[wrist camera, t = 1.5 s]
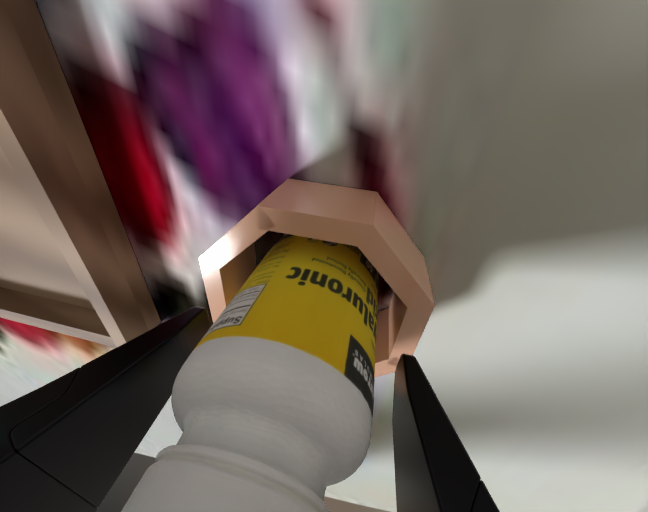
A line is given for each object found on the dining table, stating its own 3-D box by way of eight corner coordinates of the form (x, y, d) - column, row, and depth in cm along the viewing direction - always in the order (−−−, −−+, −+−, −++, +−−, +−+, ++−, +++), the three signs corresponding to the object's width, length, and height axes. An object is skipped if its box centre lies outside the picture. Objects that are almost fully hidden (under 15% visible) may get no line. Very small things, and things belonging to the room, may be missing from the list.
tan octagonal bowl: (392, 347, 14) (392, 400, 12) (247, 314, 15) (220, 357, 13) (445, 201, 10) (464, 239, 7) (230, 169, 11) (182, 192, 8)
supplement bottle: (403, 282, 12) (435, 684, 4) (321, 325, 15) (239, 612, 7) (325, 195, 10) (112, 547, 2) (250, 260, 13) (31, 527, 5)
